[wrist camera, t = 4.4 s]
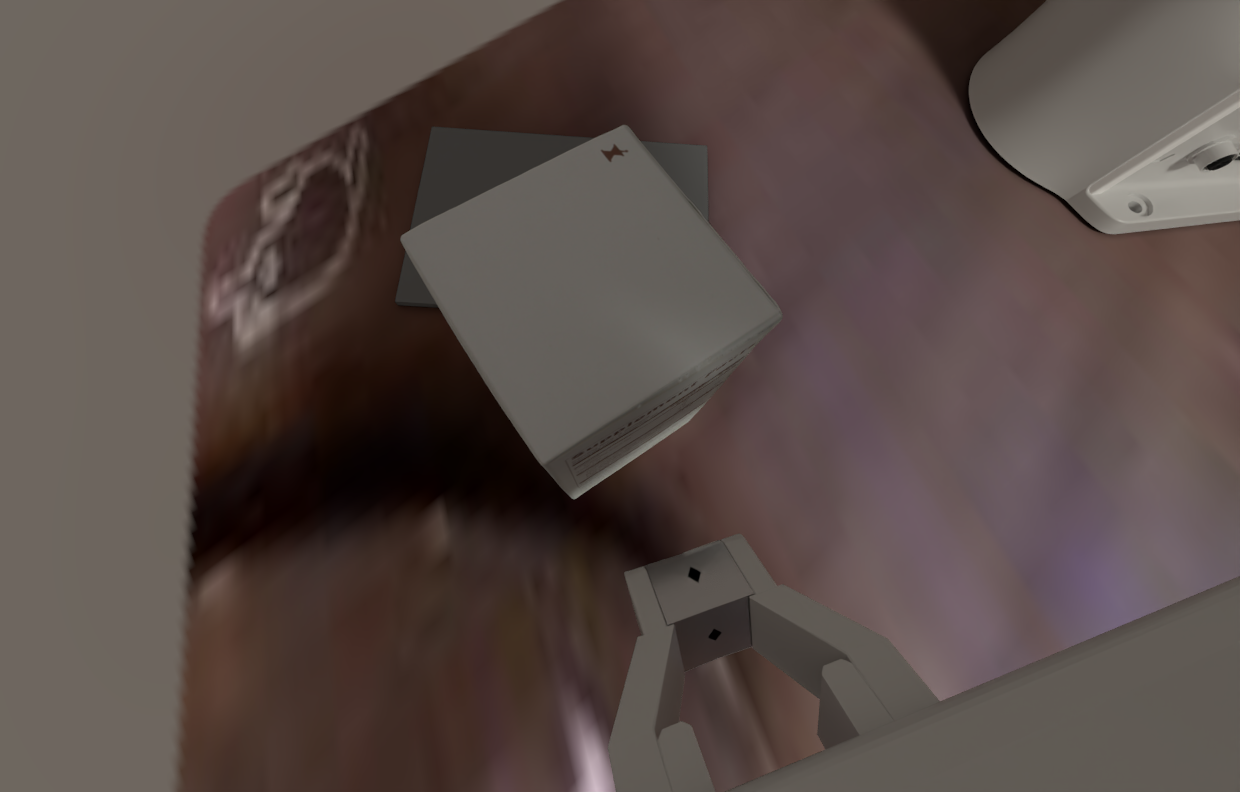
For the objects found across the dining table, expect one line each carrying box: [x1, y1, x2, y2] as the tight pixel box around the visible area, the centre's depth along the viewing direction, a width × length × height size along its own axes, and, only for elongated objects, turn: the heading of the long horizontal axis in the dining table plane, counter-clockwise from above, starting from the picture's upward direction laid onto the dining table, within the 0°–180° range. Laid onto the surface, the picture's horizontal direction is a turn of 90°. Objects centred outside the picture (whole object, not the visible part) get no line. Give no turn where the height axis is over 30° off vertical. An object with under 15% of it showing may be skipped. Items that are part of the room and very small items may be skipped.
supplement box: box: [400, 125, 782, 499], centre depth 17 cm, size 7×7×13 cm
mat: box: [395, 127, 708, 308], centre depth 26 cm, size 17×12×1 cm
